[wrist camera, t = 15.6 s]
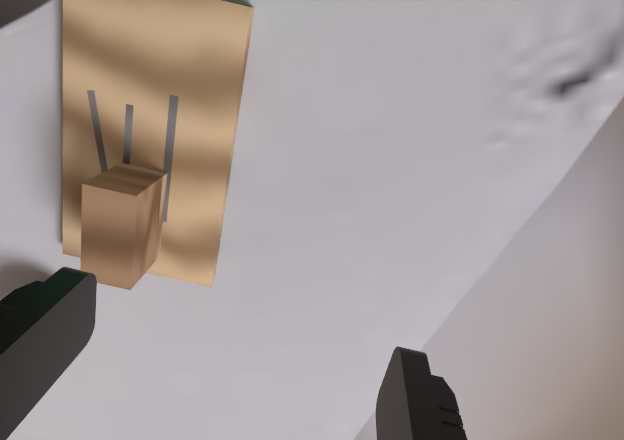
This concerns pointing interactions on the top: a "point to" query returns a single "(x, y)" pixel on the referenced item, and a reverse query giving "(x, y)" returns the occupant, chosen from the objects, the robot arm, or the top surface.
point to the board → (156, 113)
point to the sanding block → (122, 223)
